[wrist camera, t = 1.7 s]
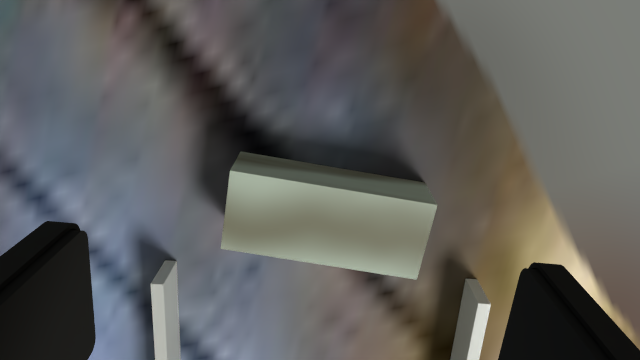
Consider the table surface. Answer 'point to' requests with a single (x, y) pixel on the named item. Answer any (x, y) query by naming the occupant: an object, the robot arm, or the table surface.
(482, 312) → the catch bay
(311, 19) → the table surface
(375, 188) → the pale green block
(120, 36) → the table surface
